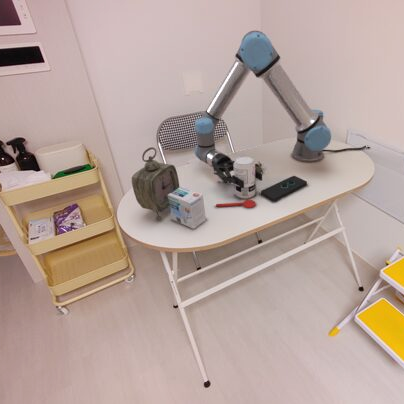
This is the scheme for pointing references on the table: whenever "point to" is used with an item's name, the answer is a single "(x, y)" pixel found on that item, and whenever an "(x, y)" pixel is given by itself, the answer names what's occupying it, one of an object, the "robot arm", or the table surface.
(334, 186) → the table surface
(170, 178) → the tabletop clock
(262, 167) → the eagle figurine
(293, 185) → the smart home device
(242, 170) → the supplement can
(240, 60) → the robot arm
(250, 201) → the red spoon
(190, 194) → the light bulb box
